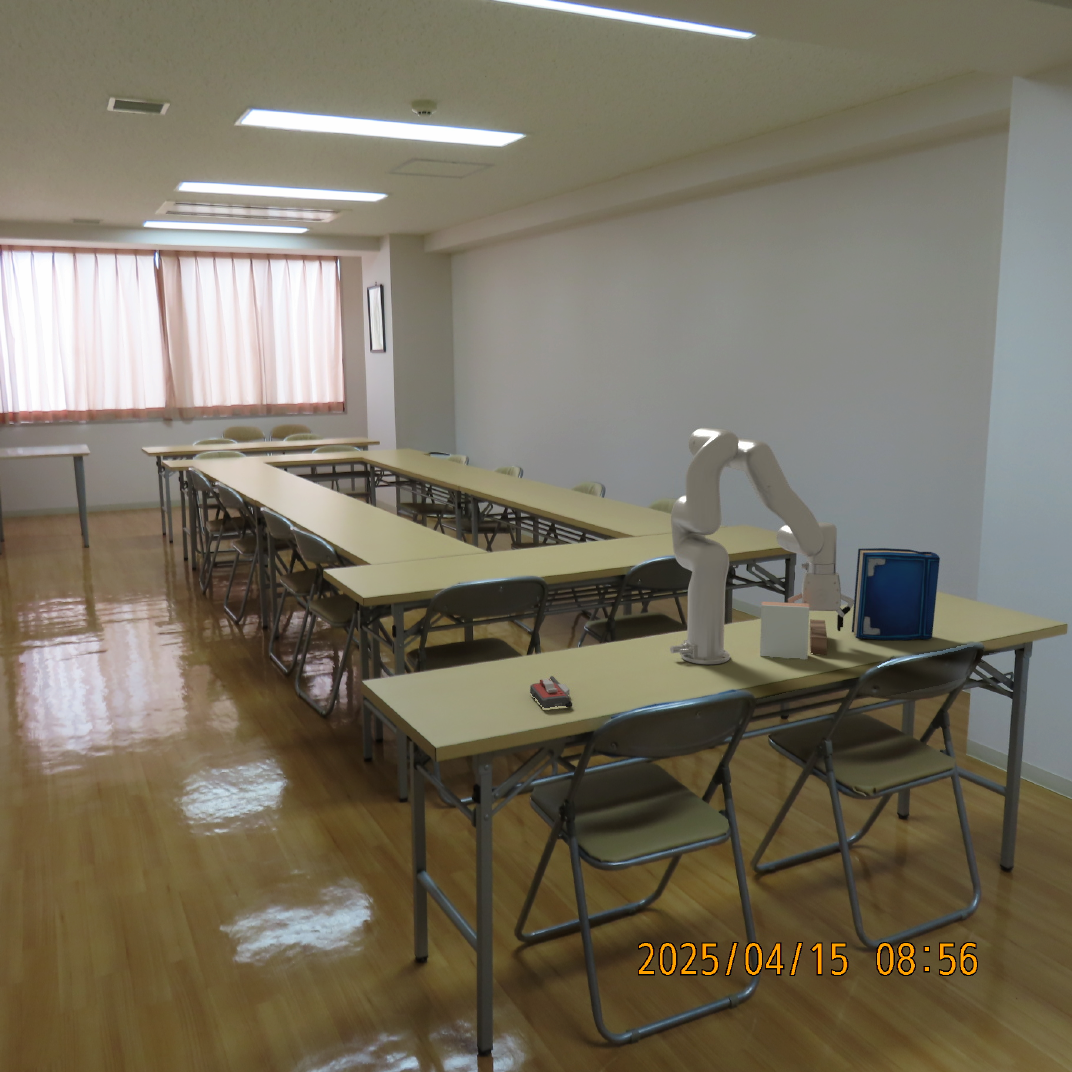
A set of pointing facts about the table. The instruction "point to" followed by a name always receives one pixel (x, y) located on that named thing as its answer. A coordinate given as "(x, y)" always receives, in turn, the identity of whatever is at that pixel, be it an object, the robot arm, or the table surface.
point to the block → (818, 637)
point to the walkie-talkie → (551, 693)
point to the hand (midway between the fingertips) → (820, 629)
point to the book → (895, 594)
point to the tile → (784, 630)
